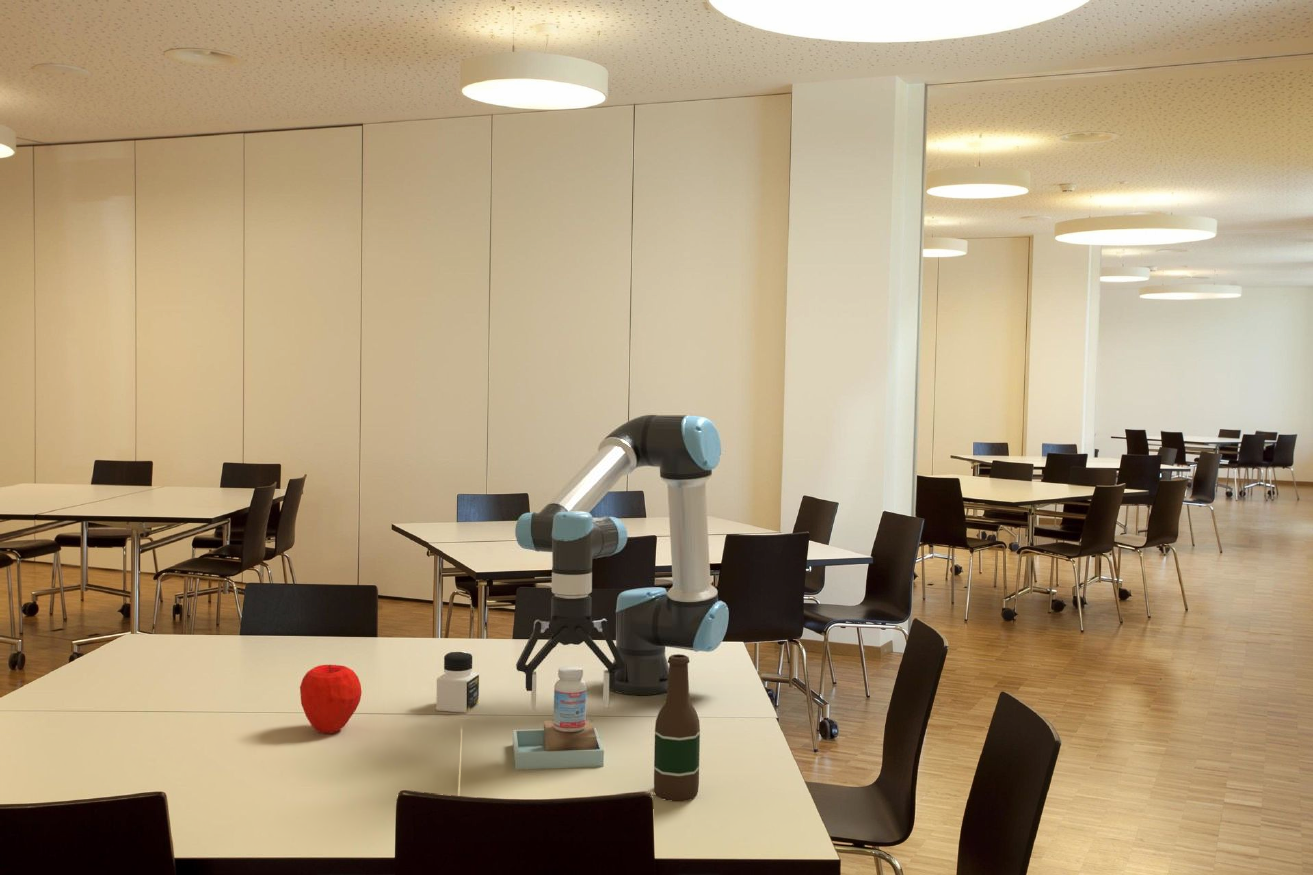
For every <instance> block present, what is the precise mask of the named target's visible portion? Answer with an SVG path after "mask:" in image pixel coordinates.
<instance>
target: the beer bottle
mask: <svg viewBox="0 0 1313 875" xmlns="http://www.w3.org/2000/svg"><path fill="white" fill-rule="evenodd" d="M667 663H668V666H669V676H668V688H667V692H666V697H665V702H664V704H663V705H662V706H661V708H660V709H659V712H658V714H657V717H656V720H655V727H654V760H653V762H654V763H653V765H654V767H653V788H654V789H653V790H654V795H655V794H656V796H657V797H658V798H660V799H661V800H662V799H665V800H664V801H668V800H672V801H671V802H675V801H681V802H685V800H686V801H691V800H690V799H692V800H694V799H695V798H696V796H697V795H698V793H699V784H700V751H701V750H700V748H701V747H700V745H701V743H700V742H701V740H700V739H701V737H700V736H701V735H700V734H701V728H700V726H701V725H700V719H699V715H698V713H697V710H696V709H695V707H694V706H693V704H692V703H691V698H690V687H689V686H690V685H689V684H690V682H689V681H690V680H689V664H690V663H691V662H690V659H689V656H688V655H685V654H679V653H678V654H677V653H676V654H671V655H670V656H668V659H667ZM696 794H697V795H696Z"/></svg>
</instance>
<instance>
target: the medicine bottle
mask: <svg viewBox="0 0 1313 875" xmlns="http://www.w3.org/2000/svg"><path fill="white" fill-rule="evenodd" d="M479 690H480V673H479V672H475V671H473V655H472V653H470V652H468V651H462V650H461V651H459V650H457V651H450V652H448V653H446V654H445V655H444V657H443V674H441V675H440V676H438V677H437V678H436V704H435V705H436V706H435V709H436V711H439V712H447V713H448V712H449V713H461V714H462V713H463V714H467V713H469V712H470V711H471V710H473V709H474V708H476V707H477V706H478V705H479V702H480V701H479V699H480V698H479V694H480V692H479Z"/></svg>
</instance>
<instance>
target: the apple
mask: <svg viewBox="0 0 1313 875" xmlns="http://www.w3.org/2000/svg"><path fill="white" fill-rule="evenodd" d="M299 691H300V692H299V693H300V704H301V708H302V710H303V712H304V714H305V717H306V718H307V720H308V722H309V723H310V725H311V727H312V728H313V729H314V730H315V731H316V732H318V733H321V734H326V735H327V734H335V733H338V732H339V731H340V730H341V729H343V728H344V727H345V726H346V725H347V723H348V722H349V720H350V719H351V718H352V717H353V715H354V713H355V712H356V710H357V708H358V707H359V704H360V702H361V699H362V698H361V697H362V692H363V691H362V684H361V681H360V678H359V677H358V675H357V674H356V672H355V671H354V670H353V669H351V668H349V667H348V666H345V665H341V664H340V665H339V664H321V665H320V664H319V665H317V666H315V667H313V668H311V669H310V670H308V671H307V672H306V673H305V675H304V676H303V677H302V680H301V682H300V686H299Z"/></svg>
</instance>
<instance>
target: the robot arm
mask: <svg viewBox="0 0 1313 875" xmlns="http://www.w3.org/2000/svg"><path fill="white" fill-rule="evenodd" d="M721 452H722V445H721V438H720V434H719V431H718V429H717V427H716V426H715V424H714V423H713V422H712V420H710V419H709V418H707V417H704V416H695V415H692V414H691V415H690V414H689V415H688V414H686V415H685V414H683V415H679V414H678V415H677V414H676V415H674V414H673V415H670V414H669V415H665V414H663V415H662V414H646V415H645V414H644V415H641V416H638V417H635V418H633V419H630V420H629V421H627V422H625V423H622V424H621V425H620V426H618V427H617V428H616V429H614V430H613V431H611V432H610V433H609V434H607V436H606V437H605V438H604V439H602V441H601V442H600V443H599V444H598V448H597V453H595V454H594V456H592V457H591V459H590V460H588V462H586V463H585V465H584V466H583V467H582V468H581V469H579V471H578V472H577V473H576V474H575V475H574V476H573V477H572V478H571V479H570V480H569V482H567V483H566V484H565V486H564V487H563V488H561V489H560V491H558V493H556V495H555V496H553V498H552V499H550V501H549V502H548V503H547V504H545V506H544V507H543V508H542V509H541V510H540V511H539V512H535V511H532V512H525V513H523V514H521V515H520V516H519V518H518V520H517V521H516V524H515V527H514V528H515V530H514V536H515V539H516V542H517V544H518V545H519V547H520V548H522V549H525V550H531V551H535V552H543V553H544V552H546V553H551V554H552V555H551V556H552V559H551V560H552V564H551V565H552V567H551V593H552V594H553V595H552V596H551V606H550V607H551V611H550V613H551V614H550V620H549V621H545V620H540V619H537V618H536V619H535V620H534V622H533V630H532V632H531V634H530V637H529V638H528V641H527V643H526V645H525V646H524V647H523V648H524V649H523V651H522V652H521V653H520V656H519V658H518V660H517V662H516V664H515V665H516V666H515V667H516V671H518V672H522V673H524V674H525V689H526V692H531V695H530V697H531V700H530V703H531V704H530V706H531V710H532V711H533V710H534V711H535V710H537V676H538V675H537V672H536V669H537V668H538V667H539V666H540V665H541V663H542V662H543V661H544V660H545V659H546V658H547V656H548V655H549V654H550V653H551V652H552V650H554V648H556V647H557V645H558V644H561V645H562V646H568V645H579V646H580V644H583V643H584V644H586V645H587V647H588V648H589V649H590V650H591V651H592V652H593V654H594V655H595V656H596V657H597V659H598V660H599V661H600V662H601V663H602V664H603V666H604V667H606V669H603V681H602V682H603V684H602V686H603V687H602V688H603V690H602V691H603V692H602V695H603V696H602V699H603V700H602V701H603V702H602V704H603V708H605V709H606V708H610V706H609V705H610V701H609V700H610V690H611V691H612V692H615V693H619V694H625V695H634V696H647V695H658V694H663V693H667V688H668V676H669V663H668V659H667V656H666V648H672V649H673V648H674V649H680V650H686V651H693V652H695V653H697V652H705V653H709V652H713V651H715V650H717V649H718V648H719V646H720V645H721V644H722V642H723V640H724V638H725V636H726V633H727V629H728V625H729V619H730V618H729V615H730V614H729V613H730V612H729V608H728V605H727V604H726V602H724V601H722V600H719V595H718V589H717V588H716V587H715V586H713V585H712V584H711V566H710V564H711V563H710V548H709V547H710V544H709V542H710V541H709V528H708V527H709V526H708V509H707V508H708V502H707V486H706V484H707V482H708V480H709V479H710V478H711V477H712V475H713V470H714V469H715V468H717V467H718V465H719V463H720V460H721V458H720V456H721V454H722V453H721ZM640 467H641V468H642V467H655V468H659V477H660V479H661V480H663V481H664V483H665V484H666V485H667V499H668V500H667V501H668V516H669V517H668V519H669V520H668V521H669V535H670V536H669V539H670V556H671V575H672V576H671V577H672V586H671V588H670V589H669V590H668V591H667V589H666V588H665V587H654V586H652V587H641V588H633V589H628V590H624V591H621V592H620V593H619V594H618V596H617V600H616V610H615V617H616V618H615V620H616V622H615V623H616V624H615V642H614V640H613V638H612V636H611V634H610V631H609V630H610V629H609V623H608V620H607V618H605V617H603V618H601V619H600V620H593V619H592V605H593V604H592V597H591V595H590V594H591V593H592V592H593V559H598V558H603V557H611V556H613V555H615V554H618V553H620V552H621V551H622V550H623V549H624V548H625V546H626V545H627V542H628V531H627V527H626V526H625V523H623V521H622V520H621V519H619V518H617V517H614V516H601V517H593V515H592V514H591V513H590V512H591V511H592V510H593V509H594V508H595V507H596V505H597V504H599V502H600V501H601V500H602V499H603V498H604V497H605V496H606V494H608V492H610V491H611V489H612V488H613V487H614V486H615V485H616V484H617V482H618V481H620V479H621V478H622V477H623V476H627V475H629V474H631V473H633V472H634V471H635V470H636V469H637V468H640ZM594 628H596V629H597V632H599V633H602V636H603V638H604V640H605V642H606V644H607V646H608V649H609V650H610V653H611V654H612V657H613V662H612V661H611V660H610V659H609V657H608V656H607V655H606V654H605V653H604V652H603V651H602V649H601V647H599V646H598V645H597V643H596V642H595V641H594V640H593V638H592V637H591V636H590V634H591V632H592V631H593V630H594ZM547 629H549V631H550V632H551V633H552V635H551V636H550V637H549V639H548V640H547V642H546V643H544V645H543V646H542V647H541V649H540V650H539V651H538V652H537V653H536V655H535V656H534V657H533V658H532V659H531V661H529V663H528V660H529V658H530V656H531V654H532V652H533V650H534V648H535V646H536V645H537V642H538V641H539V639H540V636H541V634H544V632H545V631H546V630H547ZM526 663H528V664H526Z"/></svg>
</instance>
